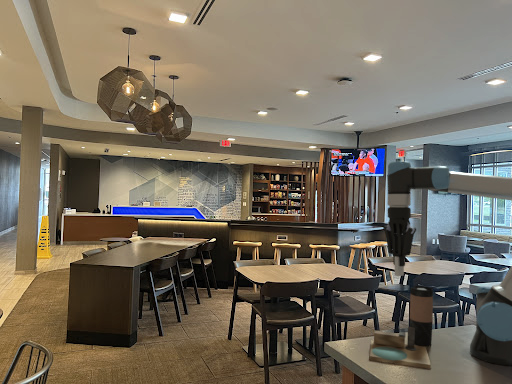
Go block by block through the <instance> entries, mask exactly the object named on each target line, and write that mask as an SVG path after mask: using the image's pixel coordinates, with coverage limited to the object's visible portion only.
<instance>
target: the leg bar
mask: <svg viewBox="0 0 512 384" xmlns="http://www.w3.org/2000/svg"><path fill="white" fill-rule="evenodd" d="M373 340H374V343H376V344H383V345H390V346H397V347H403V348H405V344H406V332H402V331H399V333H398V332H397V333H396V332H388V331H381V330H374V333H373Z"/></svg>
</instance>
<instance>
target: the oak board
mask: <svg viewBox="0 0 512 384" xmlns="http://www.w3.org/2000/svg"><path fill="white" fill-rule="evenodd" d="M370 341H371V342H370V352H369V360H370V361H375V362H381V361H382V363H388V362H389V364H394V363H396V364H397V365H402V366H403V365H404V366H409V367H415V368H422V369H423V368H424V369H429V370H430V369H431V367H432V364H431V361H430V357H429V355H428V350H427V347H423V346H417V345H414V341H415V328H413V327H410V326H408V327H407V344H406V343H405V348H403V347H397V346H390V345H383V344H376V343H374V339H371V340H370ZM376 347H391V348H396V349H399V350H402V351H403V352H405V353H406V354H407V358H405V359H403V360H387V359H383V358H381V357H378V356H376V355H375V354H373V353H372V349H374V348H376Z"/></svg>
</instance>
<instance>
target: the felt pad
mask: <svg viewBox="0 0 512 384" xmlns="http://www.w3.org/2000/svg"><path fill="white" fill-rule="evenodd" d="M372 353H373V354H375V355H376V356H378V357H381V358H383V359H387V360H403V359H405V358H407V354H406V353H405V352H403V351H402V350H399V349H396V348H391V347H376V348H374V349H372Z"/></svg>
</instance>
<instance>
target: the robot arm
mask: <svg viewBox="0 0 512 384" xmlns="http://www.w3.org/2000/svg"><path fill="white" fill-rule="evenodd" d="M386 178H387V206H388V207H387V218H388V224H386V225H384V226H382V228H383V231H384V233H385V239H386V244H387V245H386V247H387V251H388V253H389V254H391V255H392V256H393V257H392V258H393V262H392V263H393V265H394V276H396V277H401V276H402V277H403V276H404V275H405V273H404V272H405V270H404V269H405V266H406V256H410V255H411V251H412V247H413V241H414V236H415V234H416V232H417V228H416V227H413V226H412V225H411V221H410V219H411V217H412V216H411V213H412V212H411V207H410V206H411V202H412V201H411V200H412V199H411V196H412V195H411V190H428V191H432V192H441V193H451V194H457V195H459V194H460V195H465V196H466V195H467V196H474V197H482V198H491V199H496V200H497V199H498V200H505V201H512V177H507V176H498V175H489V174H487V175H486V174H478V173H469V172H459V171H450V169H449V167H448V166H441V165H436V166H422V167H421V166H419V167H413V166H412V165H411V163H410V162H409V161H392V162H389V163H388V164H387V175H386ZM475 295H476V312H475V314H476V316H475V317H476V319H475V320H476V321H475V322H476V323H475V325H476V326H475V327H476V328H475V332H474V334H473V338H472V339H471V343H470V344H469V353H470V354H471V356H473V357H474V358H476V359H479V360H482V361H484V362H487V363H492V364H496V365H499V366H500V365H501V366H512V266H510V268H509V269H508V271H507V273H506V275H504V278H503V279H502V281H501V283H499V284H495V285H492V286H478V287H477V289H476V293H475Z"/></svg>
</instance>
